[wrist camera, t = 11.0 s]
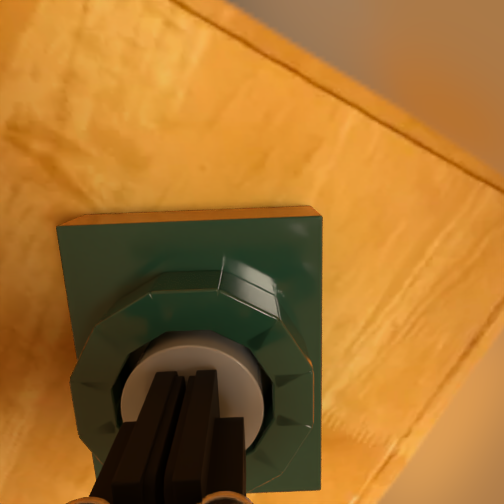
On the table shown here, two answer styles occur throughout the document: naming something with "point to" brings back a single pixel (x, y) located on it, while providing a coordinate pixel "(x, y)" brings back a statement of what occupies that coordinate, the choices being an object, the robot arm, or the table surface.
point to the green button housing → (203, 317)
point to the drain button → (201, 358)
